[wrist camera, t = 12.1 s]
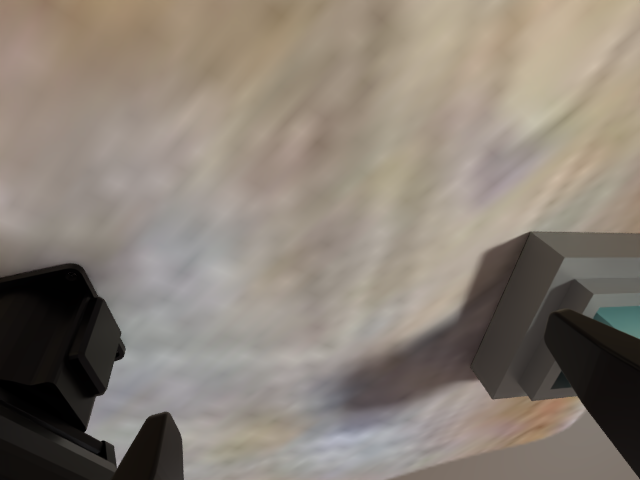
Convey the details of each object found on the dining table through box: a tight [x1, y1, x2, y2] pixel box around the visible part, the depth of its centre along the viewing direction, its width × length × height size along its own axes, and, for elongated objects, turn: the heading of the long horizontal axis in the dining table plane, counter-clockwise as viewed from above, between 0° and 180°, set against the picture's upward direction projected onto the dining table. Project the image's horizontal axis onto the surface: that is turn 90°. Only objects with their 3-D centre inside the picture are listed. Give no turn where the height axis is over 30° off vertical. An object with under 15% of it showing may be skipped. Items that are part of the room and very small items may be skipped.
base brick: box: [471, 232, 640, 401], centre depth 29 cm, size 12×12×4 cm
